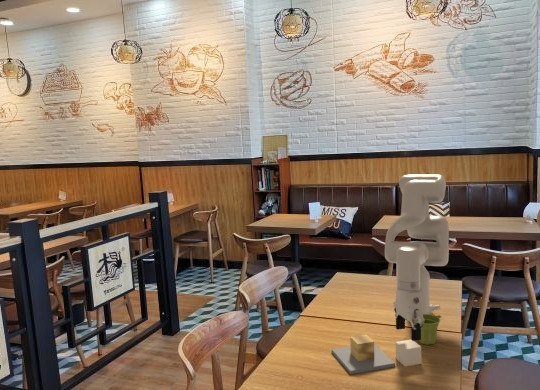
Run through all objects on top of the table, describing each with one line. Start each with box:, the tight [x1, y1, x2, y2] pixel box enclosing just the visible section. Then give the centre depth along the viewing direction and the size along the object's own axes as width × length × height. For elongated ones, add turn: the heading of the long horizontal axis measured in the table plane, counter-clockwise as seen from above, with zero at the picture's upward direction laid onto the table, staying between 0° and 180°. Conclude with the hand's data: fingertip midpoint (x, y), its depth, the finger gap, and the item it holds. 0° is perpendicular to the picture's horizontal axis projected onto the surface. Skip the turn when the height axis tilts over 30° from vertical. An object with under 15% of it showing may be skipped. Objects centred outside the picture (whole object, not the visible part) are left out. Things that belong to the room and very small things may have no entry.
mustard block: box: [349, 334, 375, 361], centre depth 158 cm, size 6×6×6 cm
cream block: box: [395, 338, 422, 367], centre depth 156 cm, size 6×6×6 cm
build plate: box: [331, 343, 396, 375], centre depth 159 cm, size 16×16×1 cm
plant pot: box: [413, 314, 441, 345], centre depth 170 cm, size 9×9×9 cm
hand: (408, 334), depth 155 cm, fingers open, 9 cm apart
